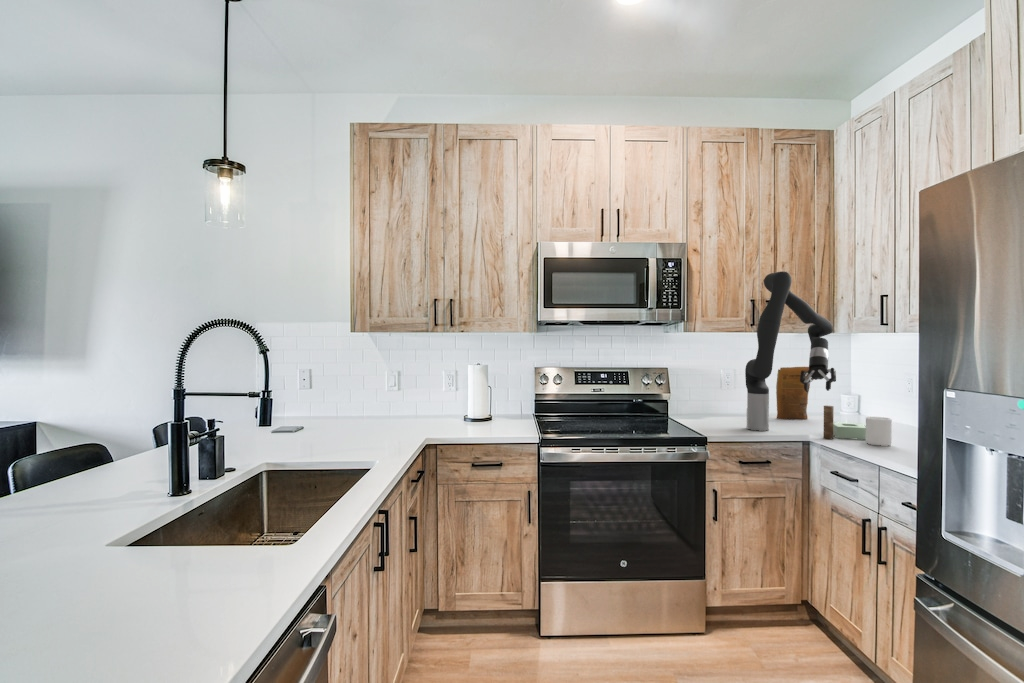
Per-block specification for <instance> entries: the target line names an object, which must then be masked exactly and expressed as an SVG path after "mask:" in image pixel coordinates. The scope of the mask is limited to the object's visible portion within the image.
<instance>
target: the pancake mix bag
mask: <svg viewBox="0 0 1024 683" xmlns="http://www.w3.org/2000/svg"><path fill="white" fill-rule="evenodd" d="M802 370H803V371H808V370H809V366H794V367H793V366H792V367H786V366H785V367H780V368H778V370H777V375H776V377H777V378H776V384H775V385H776V387H775V388H776V391H775V394H776V419H779V420H808V419H807V418H809V417H808V412H807V410H808V404H809V402H808V401H809V399H808V398H809V392H806V391H805V390H804V384H802V383H801V382H800V376H801V371H802ZM808 375H809V374H807V376H808ZM807 376H806V377H805V380H806V378H807ZM810 388H811V382H810V383H809V389H810Z"/></svg>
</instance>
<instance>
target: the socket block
mask: <svg viewBox="0 0 1024 683" xmlns="http://www.w3.org/2000/svg"><path fill="white" fill-rule="evenodd" d="M834 435H835V436H836V437H835V436H834ZM833 436H834V437H835V438H837V437H838V438H837V439H844V438H857V439H856V440H863V439H866V424H865V425H864V424H863V423H855V422H853V423H852V422H837V421H836V422H834V421H833Z"/></svg>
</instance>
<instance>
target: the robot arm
mask: <svg viewBox="0 0 1024 683" xmlns="http://www.w3.org/2000/svg"><path fill="white" fill-rule="evenodd" d="M763 285H764V288H765V289H766V290H767V291H769V292H770V293H771V294H770V297H769V301H768V303H767V304H766V306H765V308H764V309H763V311H762V312H761V314H760V316H759V319H758V324H757V328H756V336H757V344H758V346H757V347H758V349H757V353H756V357H755V358H754V359H751V360H749V361H748V362H746V366H745V370H744V371H745V372H744V373H745V376H744V377H745V386H746V391H747V394H746V395H747V396H746V397H747V401H746V402H747V403H746V406H747V408H746V428H748V429H751V430H750V431H756V430H759V432H760V431H761V432H766V430H767V431H769V429H770V424H769V422H770V415H769V414H770V388H769V386H768V385H767V382H766V379H768V378H769V377H770V376H771V374H772V371H773V364H774V356H775V349H776V344H777V340H778V335H779V332H780V328H781V323H782V318H783V312H784V311H785V310H784V309H785V305H786V306H787V307H788V308H789V309H790V310H791V311H792V312H793V313H794V314H795V315H796V316H797V317H798V319H799V320H800V321H801V322H802V323H803V324H805V325H806V324H807V325H809V324H810V325H809V326H808V327H807V328H808V329H807V334H808V337H809V342H810V351H809V361H808V362H809V363H808V367H809V370H808V371H803V370H802V371H801V376H800V382H801V383H802V384H804V390H805V391H806V392H808V393H809V392H810V388H809V383H810V384H811V382H813V381H815V380H823V379H824V380H825V390H826V391H830V390H831V388H832V383H834V382H837V372H836V371H837V370H836V369H835V368H834V367H831V368H829V341H828V339H827V338H824V337H825V336H828V335H830V334H832V333H833V332H834V326H833V324H832V322H831V321H830V320H829V319H827V318H826V317H824V316H822V315H821V314H820V313H818V312H816V311H815V310H814V308H813V307H812V306H811V305H809V303H808V302H807V301H806V300H804V299H802V298H800V297H799V296H798V295H796V294H795V293H793V292H792V291H791V286H792V276H791V275H790V273H789V272H787V271H783V270H782V271H776V272H770V273H768V274H767V275H765V277H764V280H763ZM829 373H830V378H829V377H828V376H827V375H828V374H829ZM807 374H809V375H808V376H807ZM806 376H807V378H806V380H805V377H806ZM748 429H747V430H748Z"/></svg>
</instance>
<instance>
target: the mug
mask: <svg viewBox="0 0 1024 683" xmlns="http://www.w3.org/2000/svg"><path fill="white" fill-rule="evenodd" d="M892 420H893V419H892V418H889V417H884V416H865V426H866V440H865V443H866V444H867V443H868V445H870V444H872V445H871V446H875V445H881V446H880V447H889V446H888V445H890V446H891V445H892V436H893V435H892V432H893V431H892V429H893V428H892V427H893V426H892V425H893V424H892Z"/></svg>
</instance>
